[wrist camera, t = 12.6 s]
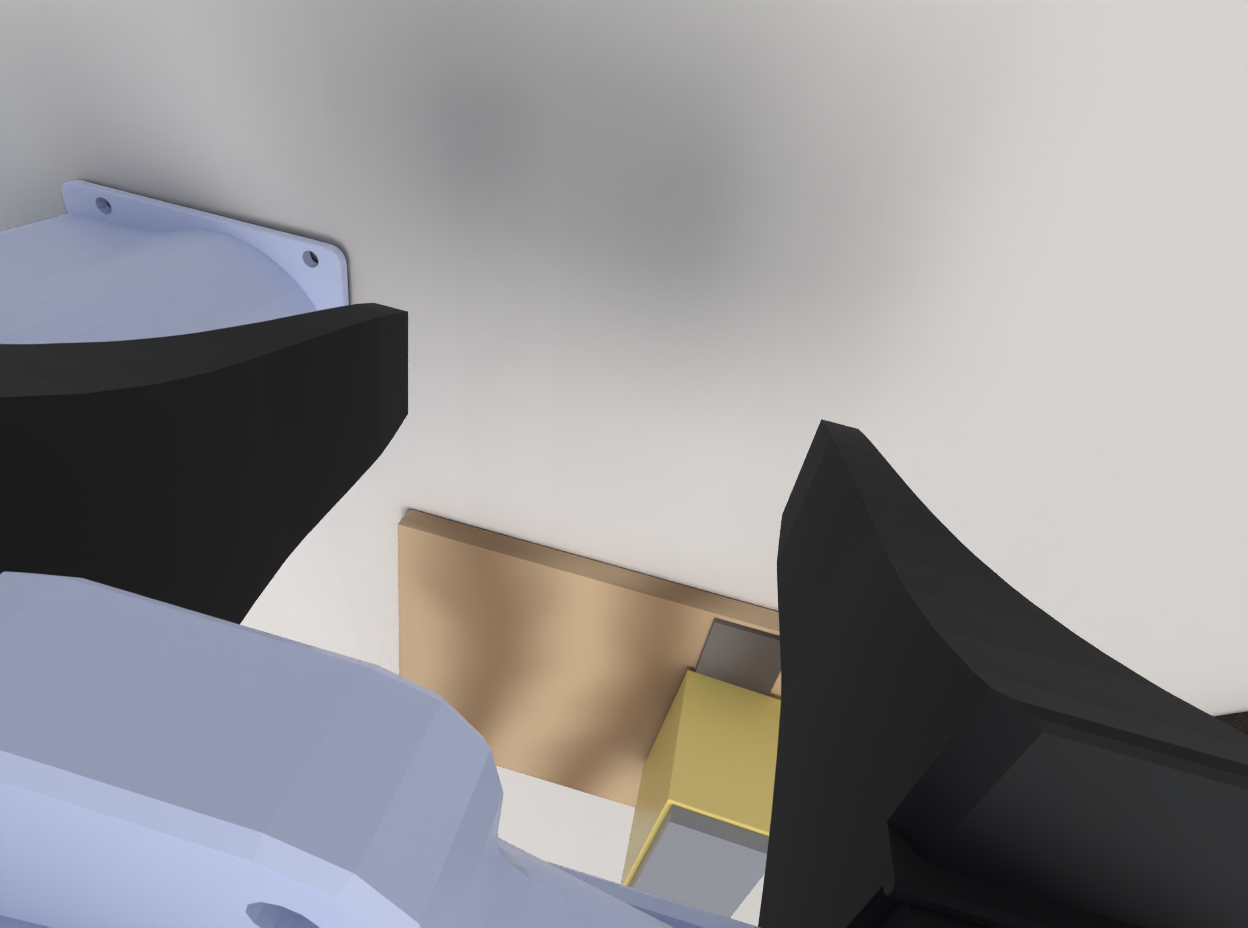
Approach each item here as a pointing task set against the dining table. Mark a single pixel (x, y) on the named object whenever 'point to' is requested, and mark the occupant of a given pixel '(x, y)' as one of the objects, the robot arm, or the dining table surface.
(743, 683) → the board
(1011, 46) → the dining table surface
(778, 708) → the block
